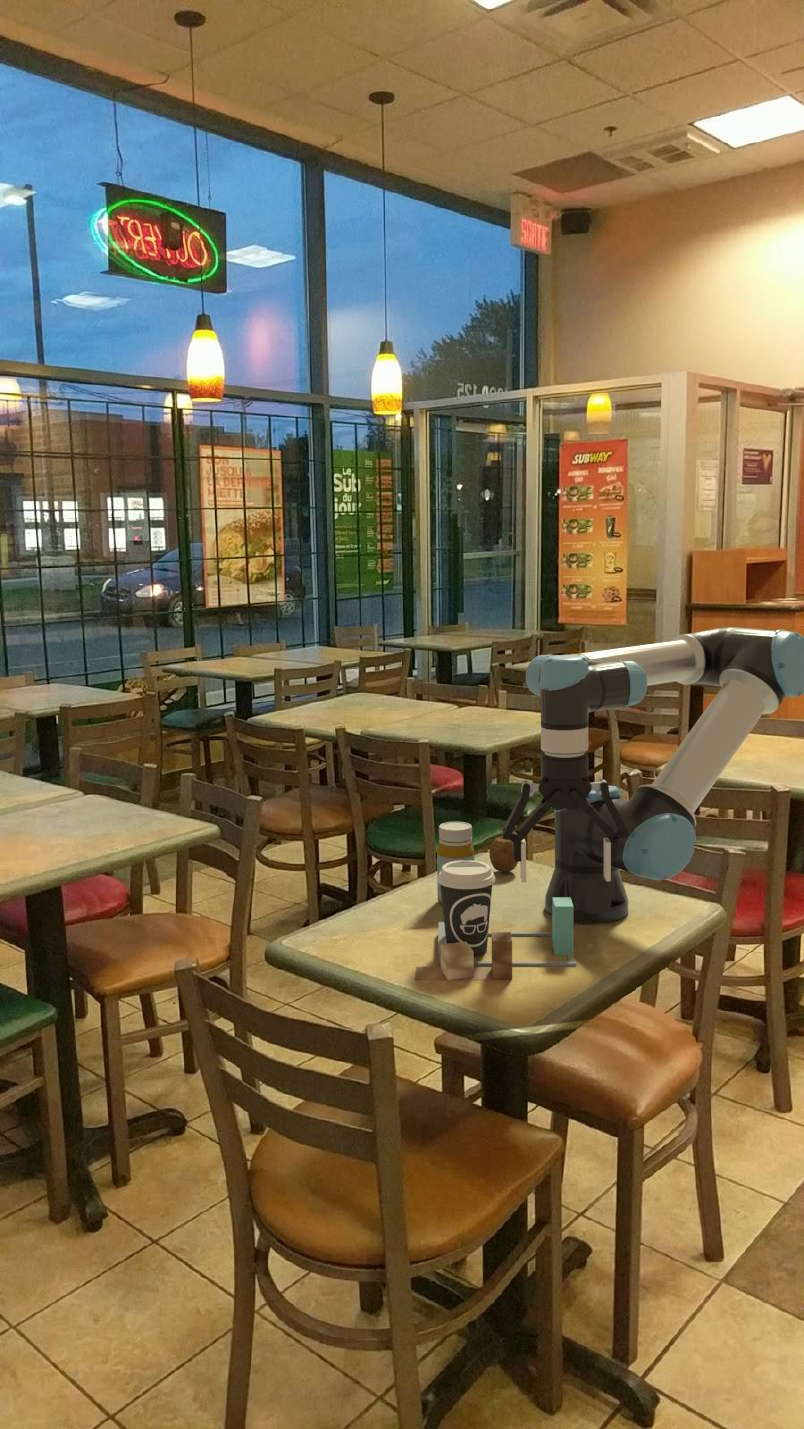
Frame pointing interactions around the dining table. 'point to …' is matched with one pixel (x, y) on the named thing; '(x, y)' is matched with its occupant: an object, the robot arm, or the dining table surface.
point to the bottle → (453, 846)
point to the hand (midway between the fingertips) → (565, 879)
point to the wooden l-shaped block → (497, 972)
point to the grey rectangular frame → (560, 935)
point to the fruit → (502, 855)
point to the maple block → (457, 960)
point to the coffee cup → (467, 902)
